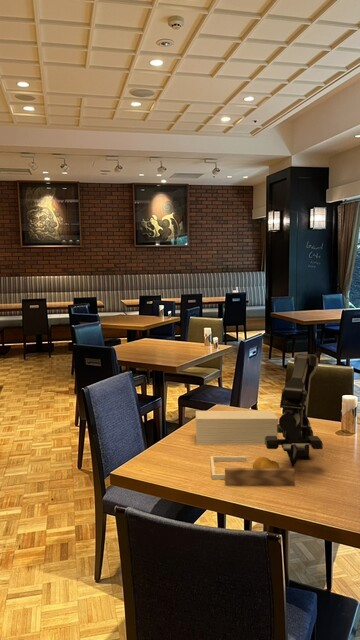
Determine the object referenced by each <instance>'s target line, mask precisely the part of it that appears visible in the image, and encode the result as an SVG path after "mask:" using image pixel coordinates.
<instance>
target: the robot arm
mask: <svg viewBox="0 0 360 640" xmlns="http://www.w3.org/2000/svg"><path fill="white" fill-rule="evenodd" d="M293 366H294V368H293V371H292V375H291V378H290V380H287V382H285V385H284V388H282V390H281V396H280V404H279V408H280V409H284V410H283V413H282V414H281V416H280V417H279V418H278V424H277V433H278V434H282V437H283V438H281V439H279V438H278V439H277V437H276V436H266V437H265V447H266V449H267V450H277V449H279V448H280V447H279V446H281V448H282V450H283V452H286V453H287V456H288V460H289V462H290V466H291V468H295V467H296V464H297V462H298V460H310V459H311V457H310V447H311V448H312V449H313V450H323V446H324V444H323V440H321V438H320V437H319V435H314V430H312V426H311V421H310V420H309V418H308V407H309V398H310V397H309V396H310V389H311V379H312V378H313V376H314V375H315V374H316V373H317V368H318V367H319V358H318V357H317V356H316V354H309V353H298V354H294V356H293Z"/></svg>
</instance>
